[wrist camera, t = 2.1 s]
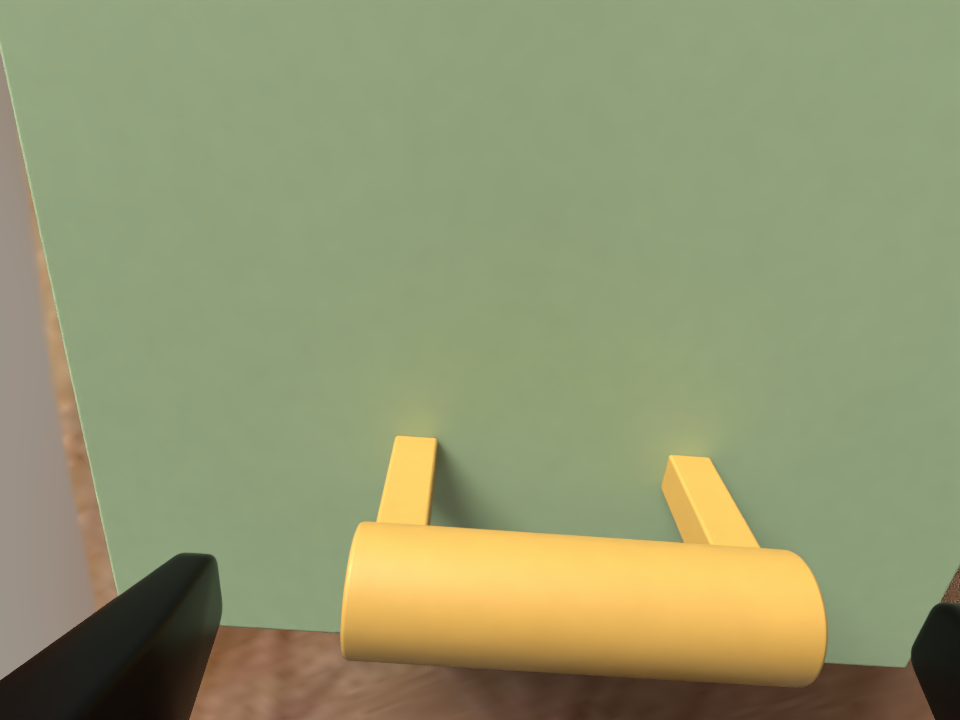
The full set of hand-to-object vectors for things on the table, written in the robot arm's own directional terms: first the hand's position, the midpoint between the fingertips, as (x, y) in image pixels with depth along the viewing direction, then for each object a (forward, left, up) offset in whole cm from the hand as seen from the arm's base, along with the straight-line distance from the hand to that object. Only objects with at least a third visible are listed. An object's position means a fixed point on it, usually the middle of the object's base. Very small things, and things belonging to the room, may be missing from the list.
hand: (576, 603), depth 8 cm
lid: (+2, 0, -4) cm, 4 cm away
